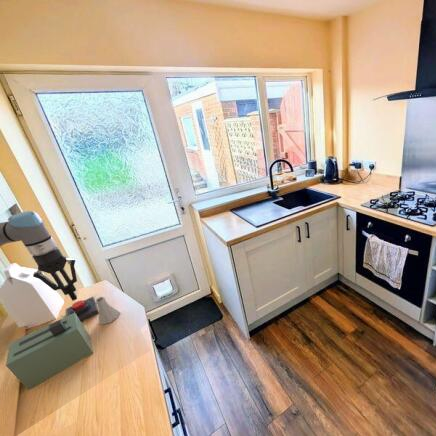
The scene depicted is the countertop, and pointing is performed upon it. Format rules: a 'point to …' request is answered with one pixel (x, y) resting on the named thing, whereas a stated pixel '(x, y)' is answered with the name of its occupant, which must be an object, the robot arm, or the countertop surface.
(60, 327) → the toaster slider
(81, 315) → the block
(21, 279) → the milk
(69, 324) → the toaster
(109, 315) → the flask
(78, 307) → the power button
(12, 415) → the countertop surface
